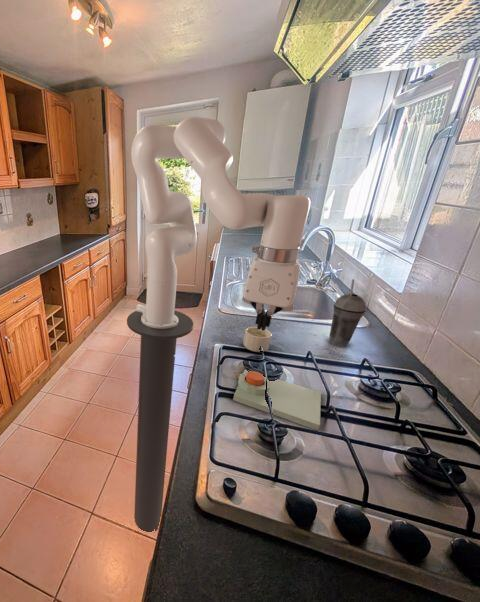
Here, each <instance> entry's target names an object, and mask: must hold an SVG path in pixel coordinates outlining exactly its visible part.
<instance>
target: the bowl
mask: <svg viewBox="0 0 480 602" xmlns="http://www.w3.org/2000/svg"><path fill="white" fill-rule="evenodd" d="M257 327H258V326H249V327H246V328H245V330H244V335H243V341H242V344H243V347H245V348H246V349H247V350H249V351H251V352H255V353H261V352H260V350H259V348H260V346H261V347H262V348H263V352H262V353H264V352H267V351H268V350H269V348H270V344H271V339H272V335H273V333H272V332H271V331H269V330H268V329H266V328H265V330H264V331H263V330H262V329H257Z"/></svg>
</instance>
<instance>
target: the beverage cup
mask: <svg viewBox="0 0 480 602" xmlns="http://www.w3.org/2000/svg"><path fill="white" fill-rule="evenodd" d="M354 284H355V279H353V278H352V279H351V283H350V290H349V293H345V294H342V295H341V296H339V297H338V298H337V299H336V300H335V302H334V303H333V315H332V320H331V326H330V331H329V338H328V343H330V344H332V345H335V346H336V347H341V348H345V347H348V345H349V344H350V342H351V340H352V337H353V336H354V333H355V331H356V330H357V327H358V325H359V323H360V321H361V319H362V317H363V316H364V314H365V313H366V312H367V310H366V309H367V305H366V301H365V299H364V298H363V297H361V295H359V294H356V293H353V290H354Z"/></svg>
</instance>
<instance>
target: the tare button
mask: <svg viewBox="0 0 480 602" xmlns="http://www.w3.org/2000/svg"><path fill="white" fill-rule="evenodd" d="M248 371H249V372H248V373H247V376H246V381H247V382H248V383H249V384H251V385H254V386H262V385H263V382H264V376H263V375H264V374H262V373H261V372H259V371H255V370H248Z"/></svg>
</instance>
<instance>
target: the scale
mask: <svg viewBox="0 0 480 602" xmlns="http://www.w3.org/2000/svg"><path fill="white" fill-rule="evenodd" d="M247 370H248V369H244V371H243V372H242V373H240V374H239V376H238V379H237V380H238V381H237V384H238V385H237V387H236V390H235V391H234V394H233V398H232V401H235V402H237V403H240V404H243V405H246V406H248V407H251V408H253V409H255V410H256V409H257V410H260V411H262V412H265V413H267V414H270V413H269V409H268V404H267V402H266V400H265V390H266V377H264V382H263V385H262V386H254V385H251V384H249V383H248V382H247V381H246V376H247V373H248V371H249V370H248V371H247ZM276 379H277V380H275V381H269V380H268V379H267V391H268V394H269V396H270V398H271V401H272V408H273V414H272V415H274V416H276V417H279V418H281V419H285V420H288V421H290V422H293V423H296V424H298V425H302V426H304V427H307V428H309V429H312V430H315V431H319V430H320V427H321V407H322V405H321V404H322V392H321V391H318V390H316V389H312V388H308V387H306V386H302V385H300V384H299V385H298V384H295V383H292V382H288V381H285V380H282V379H278V378H276Z"/></svg>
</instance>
